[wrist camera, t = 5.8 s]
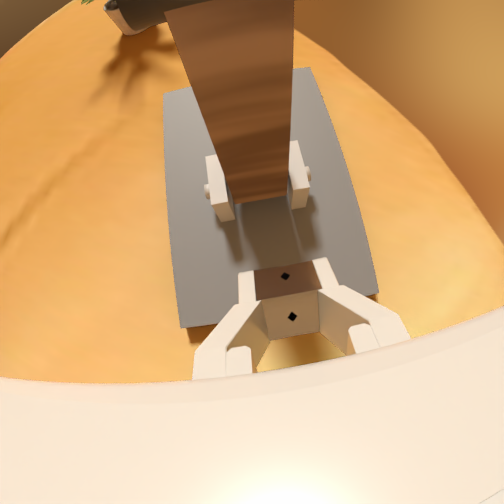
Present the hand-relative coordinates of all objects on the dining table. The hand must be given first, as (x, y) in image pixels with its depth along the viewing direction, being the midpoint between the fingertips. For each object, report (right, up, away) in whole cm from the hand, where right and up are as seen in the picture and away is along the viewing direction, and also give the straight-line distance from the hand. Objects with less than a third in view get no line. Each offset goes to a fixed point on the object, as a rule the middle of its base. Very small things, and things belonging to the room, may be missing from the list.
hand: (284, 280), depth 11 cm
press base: (-1, +8, +17) cm, 19 cm away
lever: (-1, +6, +13) cm, 15 cm away
